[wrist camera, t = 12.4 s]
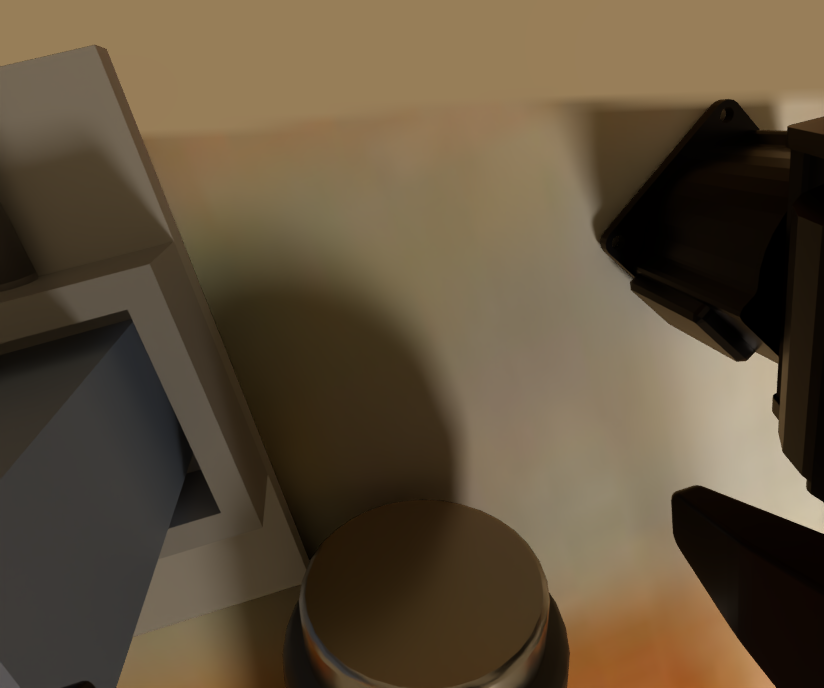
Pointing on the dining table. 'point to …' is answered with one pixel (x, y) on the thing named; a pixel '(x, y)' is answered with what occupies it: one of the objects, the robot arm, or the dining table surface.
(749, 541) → the robot arm
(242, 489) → the end holder
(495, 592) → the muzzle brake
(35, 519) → the orange-capped square pillar
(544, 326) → the dining table surface
